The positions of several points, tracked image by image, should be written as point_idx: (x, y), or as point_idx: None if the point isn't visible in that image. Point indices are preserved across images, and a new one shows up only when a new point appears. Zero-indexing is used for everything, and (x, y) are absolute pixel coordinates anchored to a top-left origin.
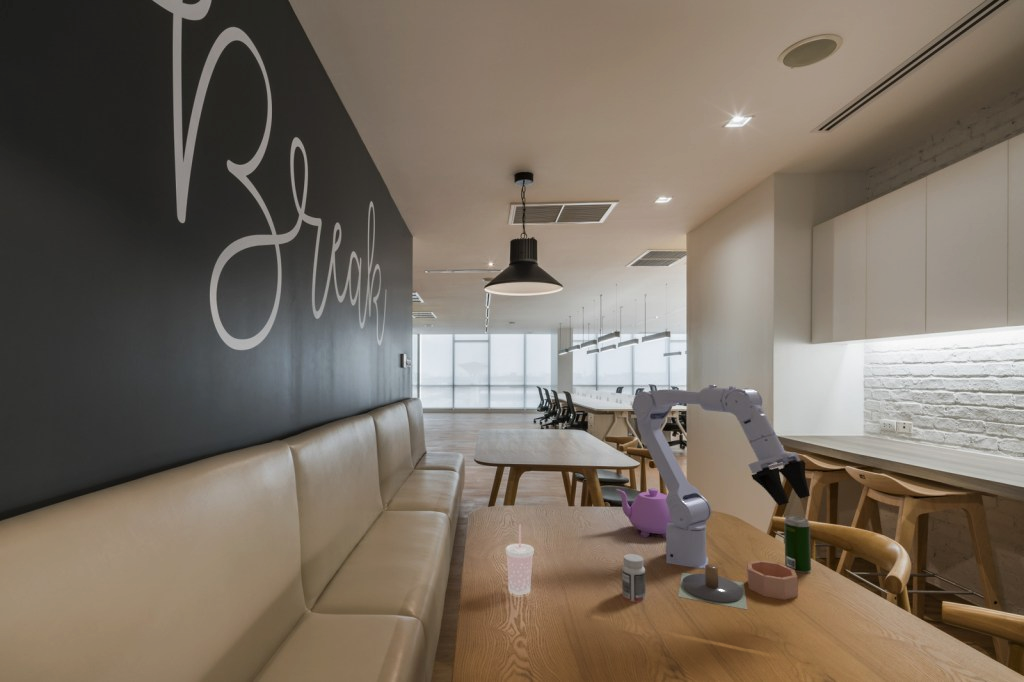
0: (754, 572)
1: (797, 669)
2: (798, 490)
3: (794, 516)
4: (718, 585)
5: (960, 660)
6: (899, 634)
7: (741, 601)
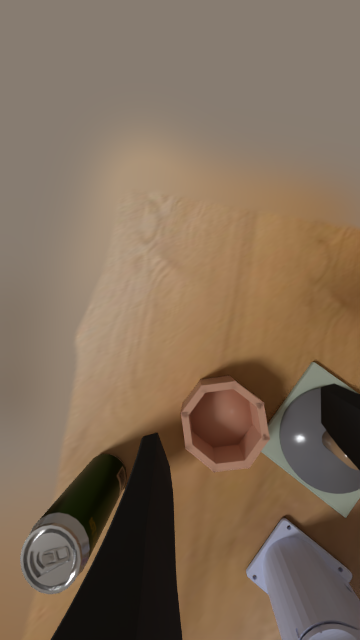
0: (266, 423)
1: (344, 232)
2: (167, 498)
3: (33, 585)
4: (320, 437)
5: (136, 211)
6: (148, 267)
7: (306, 386)
